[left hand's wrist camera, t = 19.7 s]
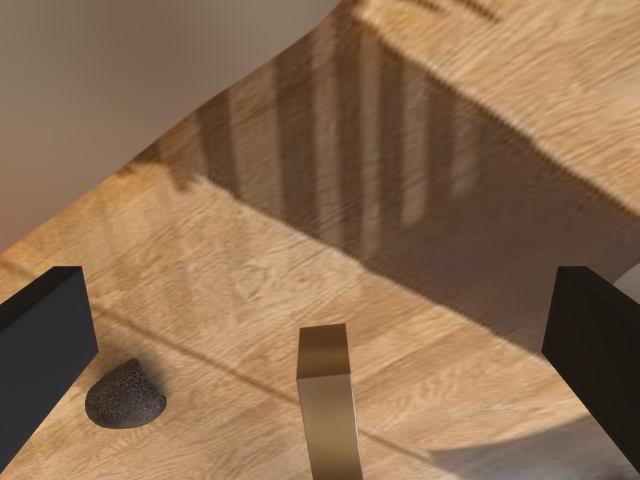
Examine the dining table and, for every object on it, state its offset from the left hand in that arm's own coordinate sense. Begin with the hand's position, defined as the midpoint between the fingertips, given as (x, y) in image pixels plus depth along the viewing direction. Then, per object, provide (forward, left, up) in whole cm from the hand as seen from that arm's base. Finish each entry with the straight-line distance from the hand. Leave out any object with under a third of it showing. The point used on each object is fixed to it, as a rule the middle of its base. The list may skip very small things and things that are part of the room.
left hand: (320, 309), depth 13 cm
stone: (+40, +17, -41) cm, 59 cm away
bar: (+13, +26, -29) cm, 41 cm away
